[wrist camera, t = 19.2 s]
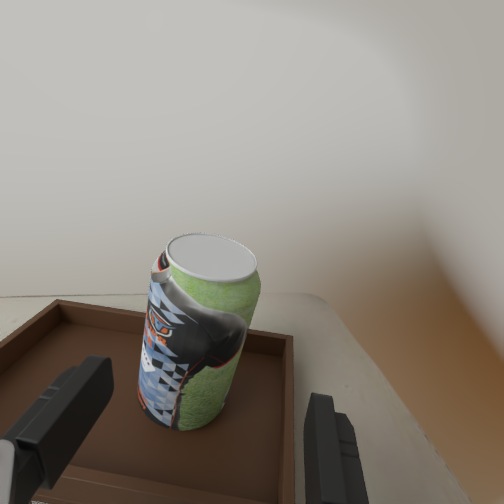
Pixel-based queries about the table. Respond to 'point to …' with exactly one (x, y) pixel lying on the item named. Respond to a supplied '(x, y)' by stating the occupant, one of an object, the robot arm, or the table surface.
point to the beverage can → (195, 328)
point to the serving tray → (148, 432)
